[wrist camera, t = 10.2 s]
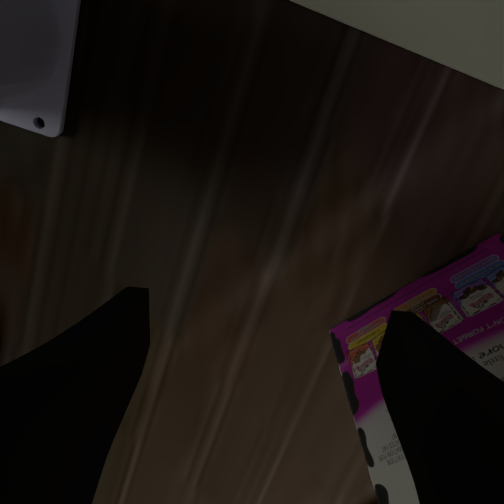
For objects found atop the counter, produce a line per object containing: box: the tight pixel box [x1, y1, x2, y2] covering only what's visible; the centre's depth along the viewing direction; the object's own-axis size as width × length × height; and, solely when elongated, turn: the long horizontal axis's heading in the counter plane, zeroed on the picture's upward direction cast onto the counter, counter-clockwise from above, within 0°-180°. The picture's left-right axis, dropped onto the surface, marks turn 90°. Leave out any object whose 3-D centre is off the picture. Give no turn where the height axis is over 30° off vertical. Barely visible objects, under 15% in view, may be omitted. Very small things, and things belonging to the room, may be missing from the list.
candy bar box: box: [329, 234, 504, 504], centre depth 17 cm, size 11×5×16 cm, turn 127°
